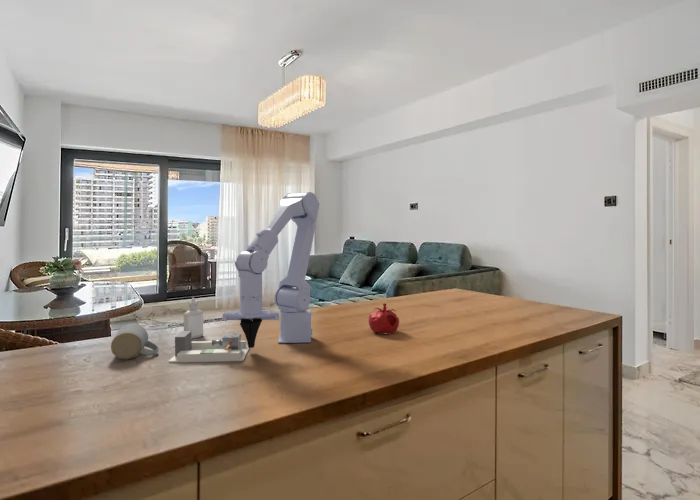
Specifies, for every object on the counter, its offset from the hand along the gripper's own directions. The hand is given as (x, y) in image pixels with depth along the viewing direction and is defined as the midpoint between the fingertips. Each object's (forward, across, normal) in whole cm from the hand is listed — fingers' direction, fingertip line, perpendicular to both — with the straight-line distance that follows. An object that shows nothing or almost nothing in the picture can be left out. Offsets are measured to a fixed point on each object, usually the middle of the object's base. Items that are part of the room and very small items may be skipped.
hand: (251, 346), depth 108 cm
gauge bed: (+2, -10, -1) cm, 10 cm away
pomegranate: (+2, +39, +19) cm, 44 cm away
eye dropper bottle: (+2, -20, +17) cm, 26 cm away
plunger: (+1, -7, -2) cm, 7 cm away
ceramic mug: (+2, -30, 0) cm, 30 cm away
